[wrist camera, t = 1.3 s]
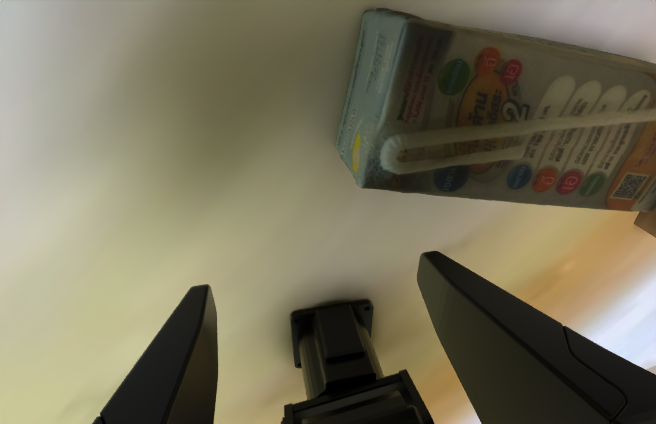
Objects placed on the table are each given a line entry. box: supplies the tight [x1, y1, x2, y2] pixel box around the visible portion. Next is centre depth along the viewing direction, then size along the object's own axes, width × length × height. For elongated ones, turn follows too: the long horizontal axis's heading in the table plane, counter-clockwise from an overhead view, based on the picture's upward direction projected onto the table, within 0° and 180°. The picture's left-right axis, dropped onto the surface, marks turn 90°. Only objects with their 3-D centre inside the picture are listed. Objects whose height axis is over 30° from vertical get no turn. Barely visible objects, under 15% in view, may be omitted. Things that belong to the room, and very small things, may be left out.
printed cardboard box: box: [336, 8, 656, 212], centre depth 20 cm, size 8×19×6 cm, turn 79°
